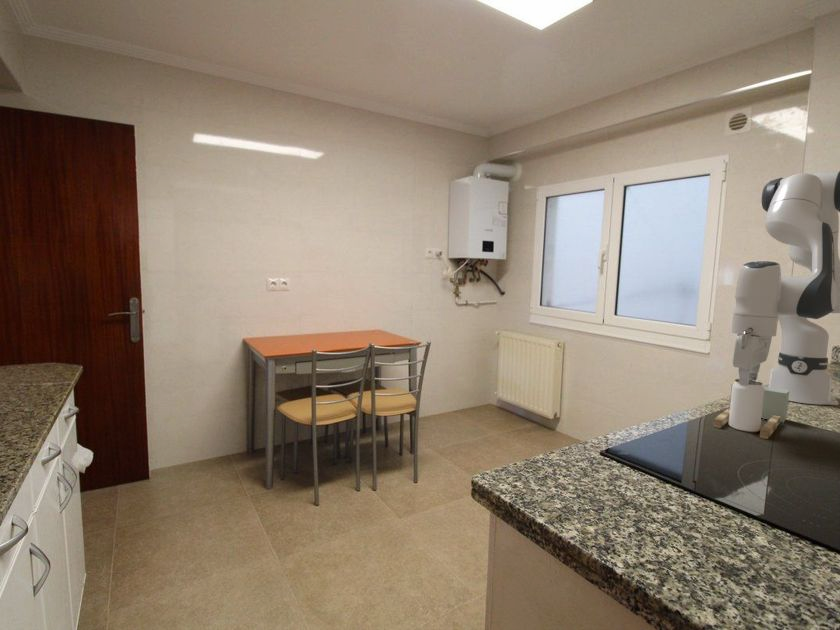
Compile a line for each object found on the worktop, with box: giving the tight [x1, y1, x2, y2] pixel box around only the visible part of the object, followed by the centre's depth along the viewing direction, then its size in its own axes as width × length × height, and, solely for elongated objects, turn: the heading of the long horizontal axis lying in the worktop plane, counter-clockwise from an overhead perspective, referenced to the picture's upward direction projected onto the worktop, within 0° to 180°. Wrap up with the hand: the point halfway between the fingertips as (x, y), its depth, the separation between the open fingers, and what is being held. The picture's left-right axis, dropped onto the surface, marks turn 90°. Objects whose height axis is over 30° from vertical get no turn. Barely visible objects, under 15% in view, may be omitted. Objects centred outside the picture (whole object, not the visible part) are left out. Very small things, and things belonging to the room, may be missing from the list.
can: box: [728, 378, 764, 433], centre depth 111 cm, size 6×6×12 cm
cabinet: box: [729, 382, 789, 424], centre depth 122 cm, size 5×12×8 cm, turn 43°
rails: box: [712, 406, 781, 440], centre depth 114 cm, size 17×11×2 cm, turn 133°
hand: (748, 382), depth 111 cm, fingers open, 8 cm apart
